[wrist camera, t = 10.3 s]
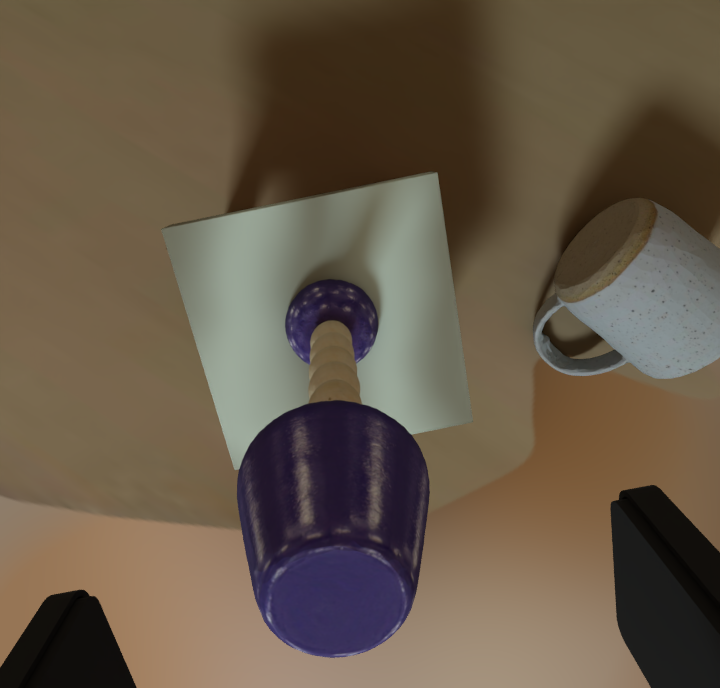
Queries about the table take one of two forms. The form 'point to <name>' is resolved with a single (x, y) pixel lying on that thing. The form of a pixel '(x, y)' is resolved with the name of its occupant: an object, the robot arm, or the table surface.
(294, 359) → the footstool
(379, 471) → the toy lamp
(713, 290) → the ceramic mug
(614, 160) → the table surface
